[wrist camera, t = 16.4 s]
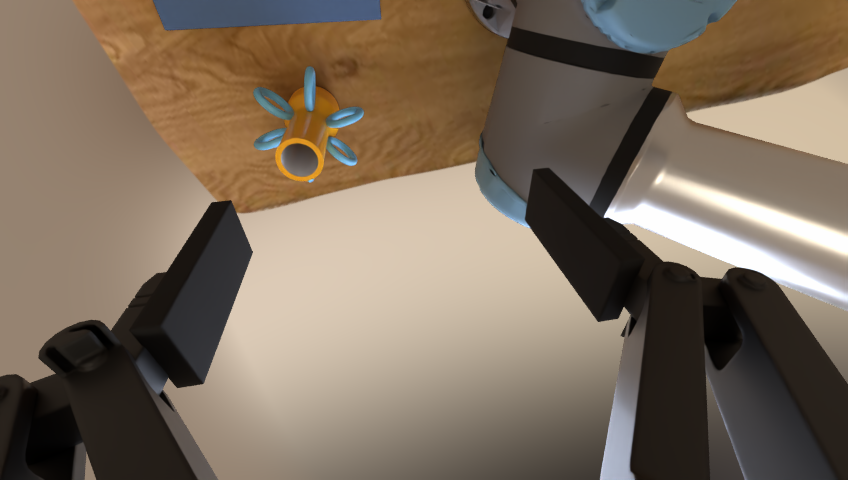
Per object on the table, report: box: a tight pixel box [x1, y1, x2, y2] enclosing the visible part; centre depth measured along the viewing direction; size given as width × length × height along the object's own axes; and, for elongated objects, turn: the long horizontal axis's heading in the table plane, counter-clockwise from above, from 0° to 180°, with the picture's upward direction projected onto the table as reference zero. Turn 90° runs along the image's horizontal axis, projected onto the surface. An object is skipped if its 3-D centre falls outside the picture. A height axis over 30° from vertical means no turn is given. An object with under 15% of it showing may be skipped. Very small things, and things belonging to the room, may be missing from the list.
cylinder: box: [253, 66, 364, 182], centre depth 37 cm, size 12×10×15 cm
